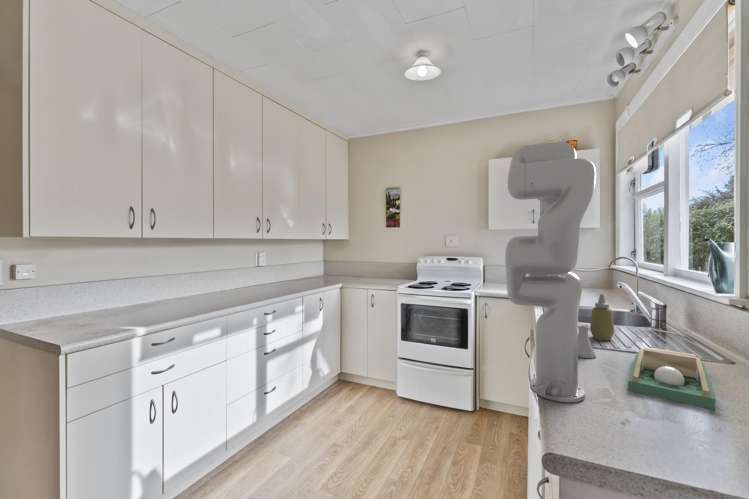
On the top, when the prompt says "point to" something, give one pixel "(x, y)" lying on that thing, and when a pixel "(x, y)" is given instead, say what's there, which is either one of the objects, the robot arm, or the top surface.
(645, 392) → the putting mat
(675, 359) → the tan wooden block
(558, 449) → the top surface
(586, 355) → the flask
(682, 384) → the ball
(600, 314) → the squeeze bottle
